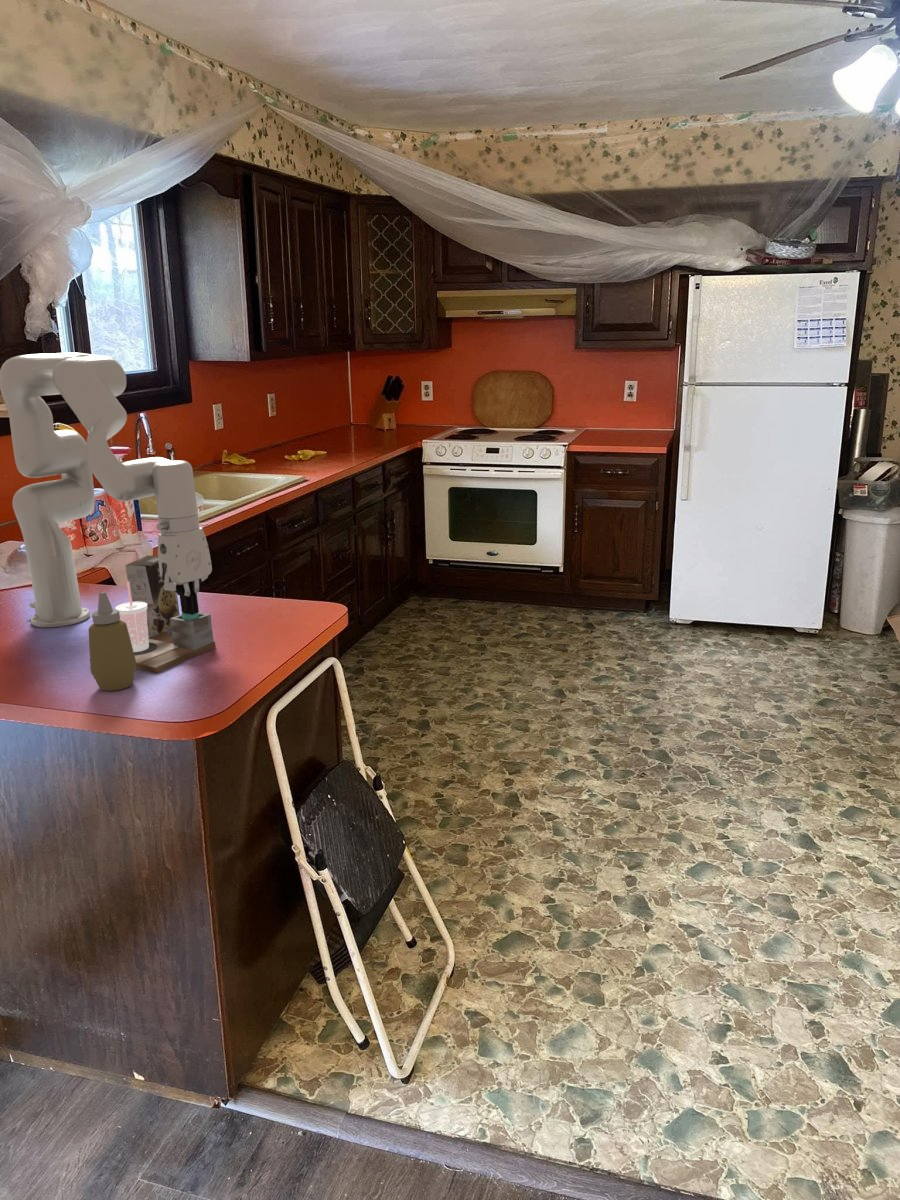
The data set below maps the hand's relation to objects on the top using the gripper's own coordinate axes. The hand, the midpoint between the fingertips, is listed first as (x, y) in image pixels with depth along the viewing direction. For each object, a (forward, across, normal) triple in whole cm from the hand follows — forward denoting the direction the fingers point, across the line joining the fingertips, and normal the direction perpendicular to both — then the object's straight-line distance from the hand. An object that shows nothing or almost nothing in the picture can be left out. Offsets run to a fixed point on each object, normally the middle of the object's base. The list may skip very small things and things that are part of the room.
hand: (190, 612), depth 181 cm
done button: (+3, 0, 0) cm, 3 cm away
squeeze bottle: (+8, -21, -1) cm, 22 cm away
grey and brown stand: (+8, -5, +5) cm, 11 cm away
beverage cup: (+7, -7, +8) cm, 13 cm away
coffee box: (+8, +6, +17) cm, 19 cm away
